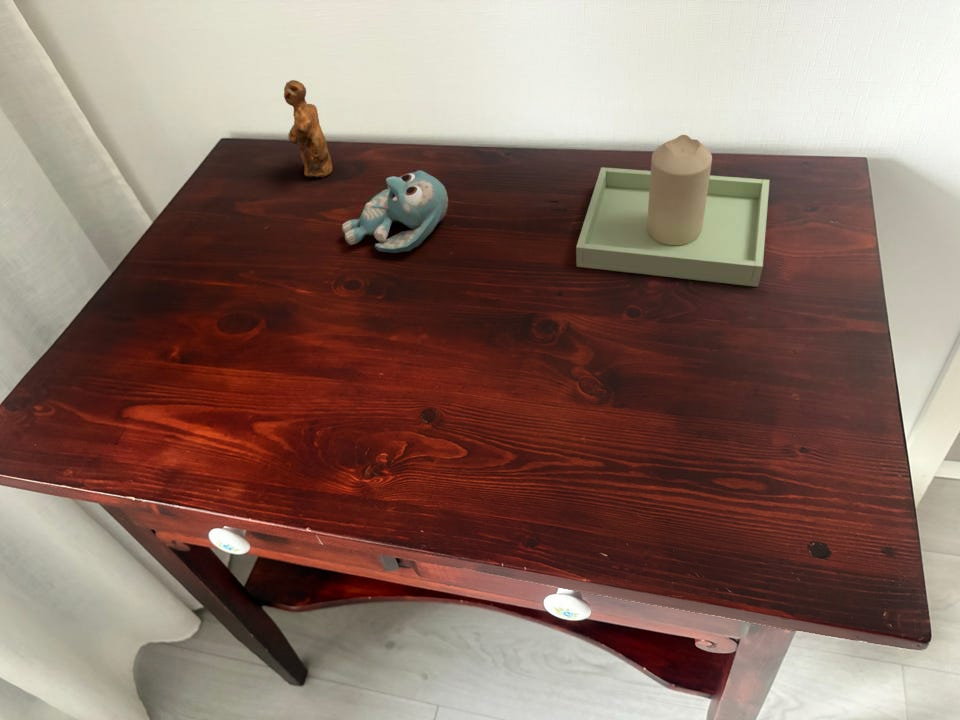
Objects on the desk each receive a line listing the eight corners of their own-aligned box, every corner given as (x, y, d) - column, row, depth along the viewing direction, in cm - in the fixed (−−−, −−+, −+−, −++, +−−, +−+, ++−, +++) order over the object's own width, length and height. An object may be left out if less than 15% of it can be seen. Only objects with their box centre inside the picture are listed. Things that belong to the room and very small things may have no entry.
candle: (644, 244, 76) (649, 159, 68) (649, 210, 79) (655, 126, 72) (700, 248, 74) (712, 162, 67) (703, 213, 78) (715, 128, 70)
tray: (765, 200, 79) (769, 179, 77) (758, 287, 71) (762, 266, 69) (600, 186, 84) (601, 167, 82) (576, 266, 76) (575, 247, 74)
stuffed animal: (318, 179, 81) (419, 132, 81) (346, 226, 87) (440, 182, 86) (336, 237, 74) (446, 186, 74) (365, 285, 80) (468, 237, 79)
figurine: (290, 182, 91) (257, 91, 82) (316, 156, 94) (287, 65, 85) (321, 189, 89) (291, 97, 80) (347, 162, 93) (321, 70, 84)
